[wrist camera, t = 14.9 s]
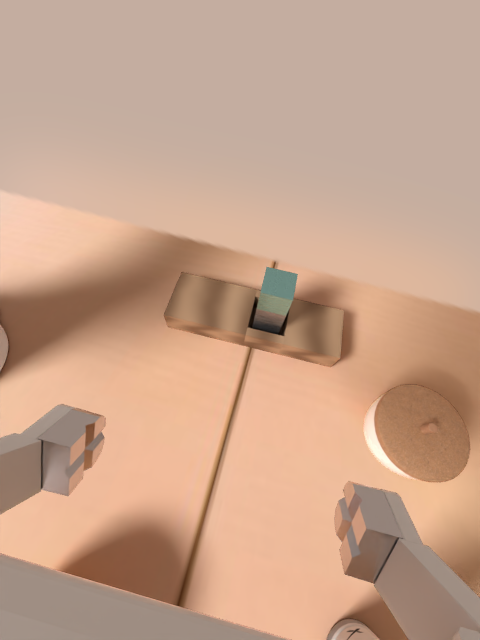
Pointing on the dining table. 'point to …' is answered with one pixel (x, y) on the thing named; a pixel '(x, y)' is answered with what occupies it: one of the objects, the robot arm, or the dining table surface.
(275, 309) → the teal square peg
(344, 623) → the travel mug
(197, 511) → the dining table surface
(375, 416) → the lidded jar
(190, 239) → the dining table surface
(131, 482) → the dining table surface
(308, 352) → the wooden peg hole block
